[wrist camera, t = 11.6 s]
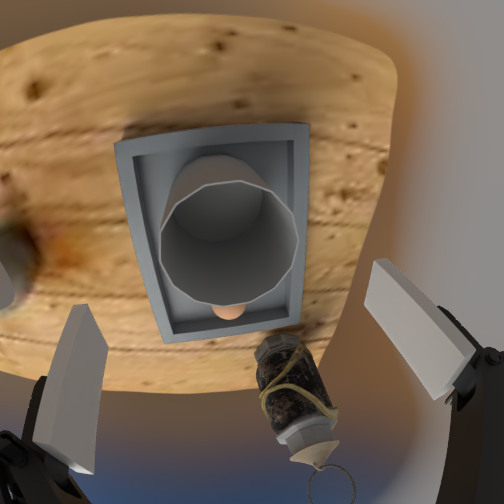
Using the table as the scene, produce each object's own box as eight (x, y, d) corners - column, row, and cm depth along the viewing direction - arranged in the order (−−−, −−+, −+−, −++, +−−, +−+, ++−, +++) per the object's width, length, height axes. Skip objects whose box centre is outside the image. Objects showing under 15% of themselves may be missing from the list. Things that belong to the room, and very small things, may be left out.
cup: (260, 148, 23) (299, 174, 15) (264, 232, 28) (297, 294, 19) (163, 160, 22) (143, 194, 14) (178, 245, 26) (173, 314, 18)
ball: (212, 306, 31) (215, 329, 28) (207, 280, 29) (210, 302, 26) (244, 302, 31) (250, 323, 28) (242, 275, 30) (248, 296, 26)
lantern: (283, 371, 41) (337, 518, 19) (237, 364, 37) (280, 534, 16) (316, 334, 38) (395, 493, 16) (268, 322, 34) (341, 517, 13)
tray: (164, 329, 32) (164, 344, 30) (121, 139, 21) (113, 143, 19) (293, 310, 34) (300, 323, 32) (299, 122, 23) (309, 123, 21)
